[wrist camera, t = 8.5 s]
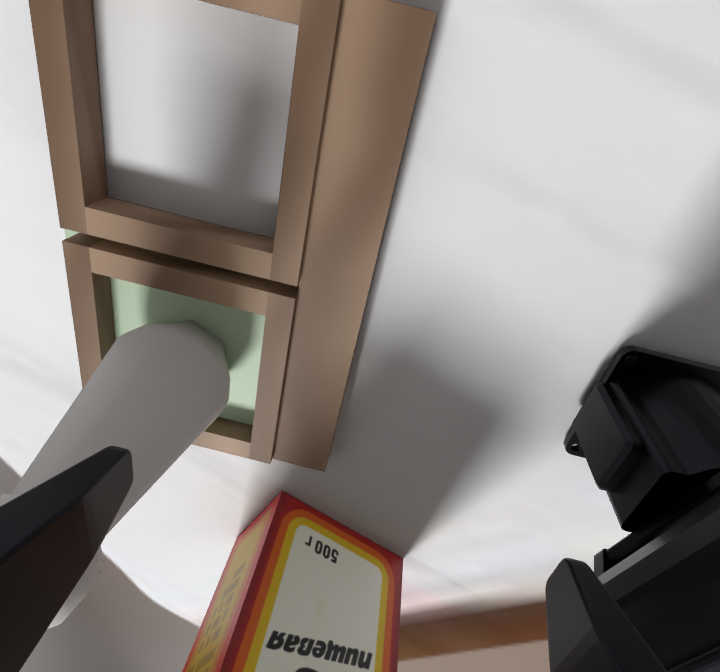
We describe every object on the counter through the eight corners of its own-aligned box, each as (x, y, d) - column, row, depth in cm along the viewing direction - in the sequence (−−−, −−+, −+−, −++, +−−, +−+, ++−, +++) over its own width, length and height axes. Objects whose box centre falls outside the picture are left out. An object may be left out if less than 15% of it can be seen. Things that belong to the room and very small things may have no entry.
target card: (323, 272, 21) (321, 274, 21) (290, 456, 27) (288, 460, 27) (66, 208, 21) (62, 210, 21) (92, 406, 27) (89, 410, 27)
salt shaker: (117, 312, 23) (-173, 542, 12) (219, 293, 22) (1, 532, 11) (167, 403, 26) (-31, 660, 15) (260, 392, 25) (121, 663, 13)
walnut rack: (436, 15, 16) (436, 11, 14) (328, 455, 27) (323, 477, 25) (52, -80, 16) (15, -93, 14) (104, 399, 27) (86, 418, 25)
